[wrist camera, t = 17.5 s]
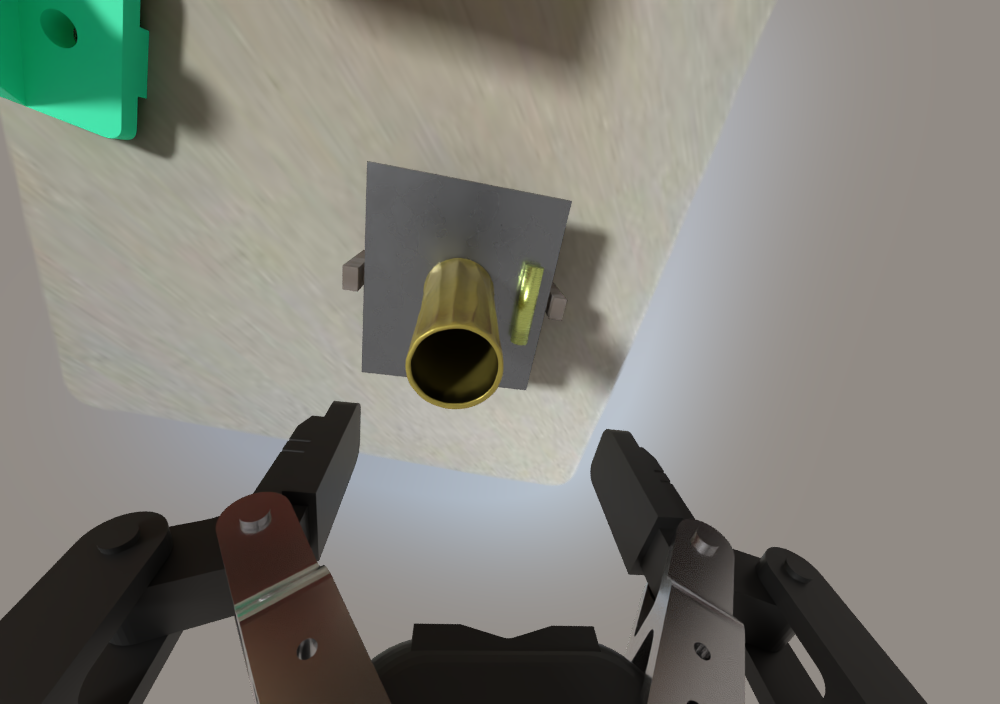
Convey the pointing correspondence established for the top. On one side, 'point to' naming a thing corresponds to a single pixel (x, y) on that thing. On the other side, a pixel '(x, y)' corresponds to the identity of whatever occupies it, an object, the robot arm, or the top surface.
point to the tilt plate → (455, 234)
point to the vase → (456, 337)
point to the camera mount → (76, 61)
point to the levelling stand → (355, 281)
